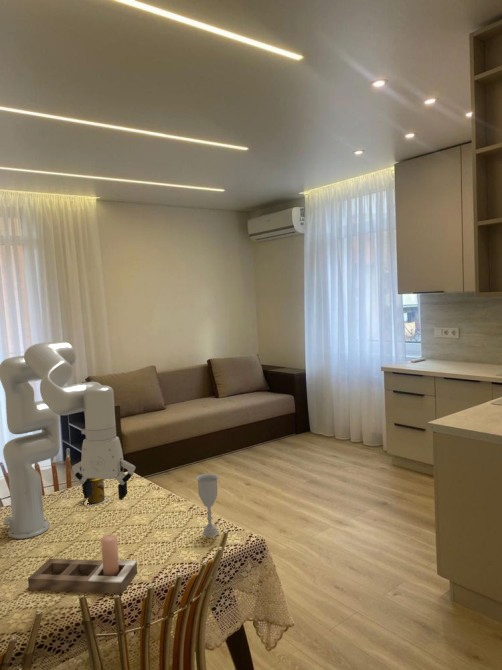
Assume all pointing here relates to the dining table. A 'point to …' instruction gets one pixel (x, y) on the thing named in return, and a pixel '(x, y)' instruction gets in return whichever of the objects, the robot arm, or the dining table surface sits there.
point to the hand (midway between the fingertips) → (105, 497)
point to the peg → (110, 555)
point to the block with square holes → (76, 583)
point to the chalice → (208, 499)
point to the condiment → (96, 493)
